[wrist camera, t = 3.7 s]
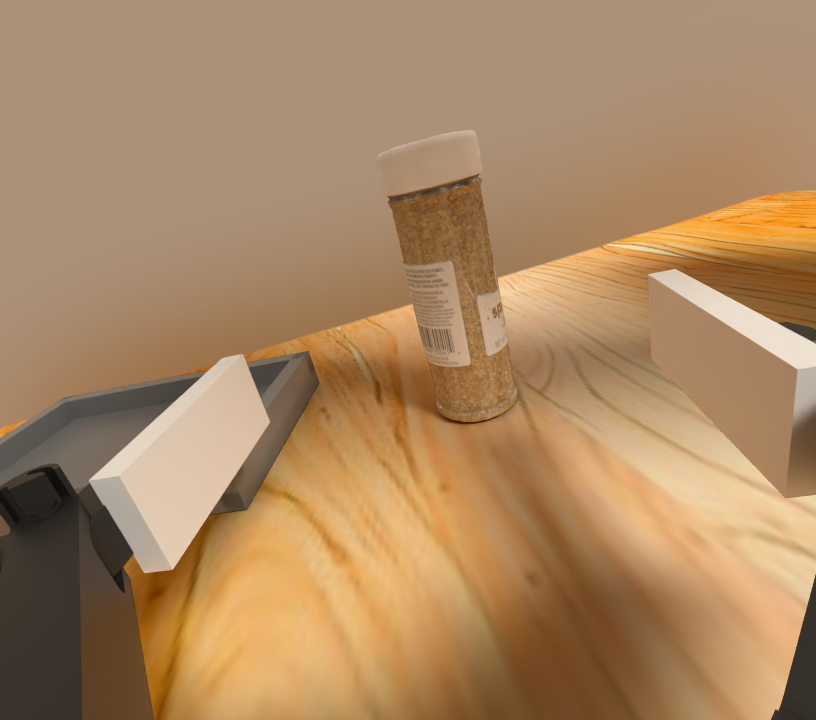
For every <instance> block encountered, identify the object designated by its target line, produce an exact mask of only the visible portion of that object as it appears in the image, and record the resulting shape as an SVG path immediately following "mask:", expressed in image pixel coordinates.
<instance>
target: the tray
mask: <svg viewBox="0 0 816 720" xmlns="http://www.w3.org/2000/svg"><path fill="white" fill-rule="evenodd" d="M247 366H248V368H249V371H250V373H251V376H252V378H253V381H254V383H255V386H256V388H257V391H258V393H259V396H260V398H261V401H262V403H263V406H264V408H265V411H266V413H267V416H268V418H269V421H270V423H269V425H268V426H267V428H266V429H265V431H264V432H263V434H262V435H261V437H260V438H259V440H258V441H257V443H256V444H255V446H254V447H253V449H252V450H251V452H250V453H249V455H248V457H247V458H246V460H245V461H244V463H243V464H242V466H241V467H240V469H239V470H238V472H237V473H236V475H235V476H234V478H233V479H232V481H231V482H230V484H229V485H228V487H227V488H226V490H225V491H224V493H223V494H222V496H221V497H220V499H219V500H218V502H217V504H216V505H215V507H214V508H213V510H212V511H211V513H210V514H216V513H223V512H231V511H239V510H246V509H247V508H248V507H249V505H250V503H251V501H252V500H253V498H254V496H255V494H256V493H257V491H258V489H259V487H260V486H261V484H262V482H263V480H264V479H265V477H266V475H267V473H268V472H269V470H270V468H271V466H272V465H273V463H274V461H275V459H276V458H277V456H278V454H279V452H280V451H281V449H282V447H283V445H284V444H285V442H286V440H287V438H288V437H289V435H290V433H291V431H292V430H293V428H294V426H295V424H296V423H297V421H298V419H299V417H300V416H301V414H302V412H303V410H304V409H305V407H306V405H307V403H308V402H309V400H310V398H311V396H312V395H313V393H314V391H315V389H316V388H317V386H318V384H319V381H318V378H317V375H316V372H315V369H314V366H313V363H312V360H311V357H310V354H309V351H307V352H301V353H296V354H291V355H286V356H280V357H275V358H270V359H265V360H259V361H254V362H249V363H247ZM208 371H209V370H207V371H201V372H196V373H191V374H186V375H180V376H175V377H170V378H165V379H159V380H154V381H149V382H144V383H139V384H133V385H128V386H123V387H118V388H112V389H107V390H102V391H97V392H91V393H86V394H81V395H75V396H70V397H65V398H63V399H61V400H60V401H58V402H57V403H55V404H53V405H52V406H50V407H49V408H47V409H46V410H44V411H42V412H41V413H40V414H38V415H36V416H35V417H33V418H32V419H30V420H28V421H27V422H25V423H24V424H22V425H21V426H19V427H17V428H16V429H14V430H13V431H11V432H10V433H8V434H7V435H5V436H3V437H2V438H0V486H1V485H3V484H4V483H6V482H8V481H9V480H11V479H12V478H14V477H16V476H18V475H20V474H22V473H24V472H26V471H28V470H31V469H33V468H36V467H39V466H42V465H46V464H51V463H53V464H58V465H59V466H60V467H61V469H62V471H63V472H64V474H65V475H66V477H67V479H68V480H69V482H70V483H71V485H72V487H73V488H74V490H75V491H76V493H77V494H78V493H79V492H80V491H81V490H82V489H84V488H85V487H86V486H87V485H88V484H89V483H90V482H89V480H90V479H91V478H92V477H93V476H94V475H95V474H96V473H97V472H98V471H100V470H101V469H102V468H103V467H104V466H105V465H106V464H107V463H108V462H109V461H110V460H112V459H113V458H114V457H115V456H116V455H117V454H118V453H119V452H120V451H121V450H122V449H124V448H125V447H126V446H127V445H128V444H129V443H130V442H131V441H132V440H133V439H134V438H136V437H137V436H138V435H139V434H140V433H141V432H142V431H143V430H144V429H145V428H146V427H148V426H149V425H150V424H151V423H152V422H153V421H154V420H155V419H156V418H157V417H158V416H160V415H161V414H162V413H163V412H164V411H165V410H166V409H167V408H168V407H169V406H170V405H172V404H173V403H174V402H175V401H176V400H177V399H178V398H179V397H180V396H181V395H182V394H184V393H185V392H186V391H187V390H188V389H189V388H190V387H191V386H192V385H193V384H194V383H196V382H197V381H198V380H199V379H200V378H201V377H202V376H203V375H204V374H205V373H206V372H208ZM9 532H10V527H9V526H8V524H7V523H6V522H5V520H4V519H3V517H2V516H1V515H0V537H1V536H4V535H7V534H9Z"/></svg>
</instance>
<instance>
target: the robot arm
mask: <svg viewBox="0 0 816 720" xmlns="http://www.w3.org/2000/svg"><path fill="white" fill-rule="evenodd" d="M648 293H649V320H650V346H651V359H652V360H653V361H654V362H655V363H656V364H657V365H658V366H659V367H660V368H661V369H662V370H663V371H664V372H665V373H666V374H667V375H668V376H669V377H670V378H671V379H672V381H673V382H674V383H675V384H676V385H677V386H678V387H679V388H680V389H681V390H682V391H683V392H684V393H685V394H686V395H687V396H688V397H689V398H690V399H691V400H692V401H693V402H694V403H695V404H696V406H697V407H698V408H699V409H700V410H701V411H702V412H703V413H704V414H705V415H706V416H707V417H708V418H709V419H710V420H711V421H712V422H713V423H714V424H715V425H716V426H717V427H718V428H719V429H720V431H721V432H722V433H723V434H724V435H725V436H726V437H727V438H728V439H729V440H730V441H731V442H732V443H733V444H734V445H735V446H736V447H737V448H738V449H739V450H740V451H741V452H742V453H743V454H744V456H745V457H746V458H747V459H748V460H749V461H750V462H751V463H752V464H753V465H754V466H755V467H756V468H757V469H758V470H759V471H760V472H761V473H762V474H763V475H764V476H765V477H766V478H767V479H768V481H769V482H770V483H771V484H772V485H773V486H774V487H775V488H776V489H777V490H778V491H779V492H780V493H781V494H782V495H783V496H784V497H785V498H791V497H800V496H808V495H816V330H815V329H813V328H810V327H806V326H801V325H797V324H793V323H789V322H783V323H776V322H774V321H772V320H770V319H768V318H767V317H765V316H763V315H761V314H759V313H757V312H755V311H753V310H752V309H750V308H748V307H746V306H744V305H742V304H740V303H738V302H737V301H735V300H733V299H731V298H729V297H727V296H725V295H723V294H721V293H720V292H718V291H716V290H714V289H712V288H710V287H708V286H706V285H705V284H703V283H701V282H699V281H697V280H695V279H693V278H691V277H690V276H688V275H686V274H684V273H682V272H680V271H678V270H676V269H672V270H667V271H662V272H657V273H652V274H648ZM269 423H270V421H269V418H268V416H267V413H266V411H265V408H264V406H263V403H262V401H261V398H260V396H259V393H258V391H257V388H256V386H255V383H254V381H253V378H252V376H251V373H250V371H249V368H248V366H247V363H246V361H245V358H244V356H243V354H240V355H235V356H229V357H225V358H222V359H221V360H220V361H218V362H217V363H216V364H215V365H214V366H213V367H212V368H211V369H210V370H209V371H208V372H206V373H205V374H204V375H203V376H202V377H201V378H200V379H199V380H198V381H197V382H196V383H194V384H193V385H192V386H191V387H190V388H189V389H188V390H187V391H186V392H185V393H184V394H182V395H181V396H180V397H179V398H178V399H177V400H176V401H175V402H174V403H173V404H172V405H170V406H169V407H168V408H167V409H166V410H165V411H164V412H163V413H162V414H161V415H160V416H158V417H157V418H156V419H155V420H154V421H153V422H152V423H151V424H150V425H149V426H148V427H146V428H145V429H144V430H143V431H142V432H141V433H140V434H139V435H138V436H137V437H136V438H134V439H133V440H132V441H131V442H130V443H129V444H128V445H127V446H126V447H125V448H124V449H122V450H121V451H120V452H119V453H118V454H117V455H116V456H115V457H114V458H113V459H112V460H110V461H109V462H108V463H107V464H106V465H105V466H104V467H103V468H102V469H101V470H100V471H98V472H97V473H96V474H95V475H94V476H93V477H92V478H91V479H90V480H89V482H90V483H89V484H88V485H87V486H86V487H85V488H84V489H82V490H81V491H80V492H79V493H78V494H77V493H76V491H75V490H74V488H73V487H72V485H71V483H70V482H69V480H68V479H67V477H66V475H65V474H64V472H63V471H62V469H61V467H60V466H59V465H58V464H53V463H51V464H46V465H42V466H39V467H36V468H33V469H31V470H28V471H26V472H24V473H22V474H20V475H18V476H16V477H14V478H12V479H11V480H9V481H8V482H6V483H4V484H3V485H1V486H0V515H1V516H2V517H3V519H4V520H5V522H6V523H7V524H8V526H9V527H10V532H9V534H7V535H4V536H1V537H0V720H154V717H153V711H152V705H151V699H150V693H149V687H148V681H147V675H146V670H145V664H144V658H143V652H142V646H141V640H140V634H139V628H138V622H137V616H136V610H135V604H134V598H133V592H132V586H131V580H130V578H129V576H128V575H127V573H126V572H125V570H124V568H123V566H124V565H125V564H126V562H127V561H128V560H129V558H130V557H131V556H132V555H134V557H135V559H136V560H137V562H138V564H139V565H140V567H141V568H142V570H143V572H144V573H150V572H158V571H167V570H173V569H174V567H175V566H176V564H177V563H178V561H179V560H180V558H181V557H182V555H183V554H184V552H185V551H186V549H187V547H188V546H189V544H190V543H191V541H192V540H193V538H194V537H195V535H196V534H197V532H198V531H199V529H200V528H201V526H202V525H203V523H204V522H205V520H206V519H207V517H208V516H209V514H210V513H211V511H212V510H213V508H214V507H215V505H216V504H217V502H218V500H219V499H220V497H221V496H222V494H223V493H224V491H225V490H226V488H227V487H228V485H229V484H230V482H231V481H232V479H233V478H234V476H235V475H236V473H237V472H238V470H239V469H240V467H241V466H242V464H243V463H244V461H245V460H246V458H247V457H248V455H249V453H250V452H251V450H252V449H253V447H254V446H255V444H256V443H257V441H258V440H259V438H260V437H261V435H262V434H263V432H264V431H265V429H266V428H267V426H268V425H269ZM771 720H816V575H815V579H814V583H813V587H812V591H811V594H810V598H809V602H808V606H807V609H806V613H805V617H804V621H803V624H802V628H801V632H800V636H799V639H798V643H797V647H796V651H795V655H794V658H793V662H792V666H791V670H790V673H789V677H788V681H787V685H786V688H785V692H784V696H783V699H782V703H781V706H780V708H779V711H778V710H775V712H774V714H773V716H772V719H771Z"/></svg>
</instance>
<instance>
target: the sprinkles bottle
mask: <svg viewBox="0 0 816 720" xmlns="http://www.w3.org/2000/svg"><path fill="white" fill-rule="evenodd" d="M377 165H378V170H379V175H380V180H381V184H382V188H383V192H384V195H385V196H387V197H389V199H390V201H388V204H389V206H390V207H391V209H392V211H393V218H394V221H395V226H396V230H397V234H398V238H399V241H400V247H401V251H402V256H403V265H404V269H405V274H406V277H407V282H408V286H409V290H410V294H411V298H412V303H413V307H414V311H415V315H416V319H417V323H418V327H419V331H420V335H421V339H422V343H423V347H424V351H425V355H426V358H427V360H428V362H429V366H430V371H431V374H432V378H433V382H434V386H435V391H436V396H437V398H436V406H437V409H438V411H439V412H440V413H441V414H442V415H443V416H445V417H447V418H449V419H452V420H456V421H461V422H478V421H482V420H487V419H491V418H493V417H496V416H498V415H501V414H502V413H504V412H505V411H507V410H508V409H509V408H511V407H512V406H513V404H514V403H515V402H516V400H517V396H518V387H517V385H516V384H515V382H514V378H513V372H512V366H511V361H510V354H509V348H508V344H507V341H508V336H507V330H506V325H505V319H504V314H503V309H502V304H501V298H500V291H499V286H498V280H497V274H496V268H495V262H494V256H493V253H492V250H491V246H490V240H489V234H488V229H487V220H486V216H485V211H484V204H483V198H482V195H481V188H480V186H481V182H482V179H481V178H478V175H479V174H480V173H481V172H482V163H481V156H480V151H479V145H478V141H477V136H476V134H475V132H474V131H472V130H465V131H461V132H459V131H455V132H450V133H446V134H441V135H437V136H433V137H429V138H425V139H421V140H418V141H414V142H411V143H407V144H403V145H400V146H397V147H394V148H392V149H390V150H388V151H385V152H382V153H381V154H379V155H378V157H377Z"/></svg>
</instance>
